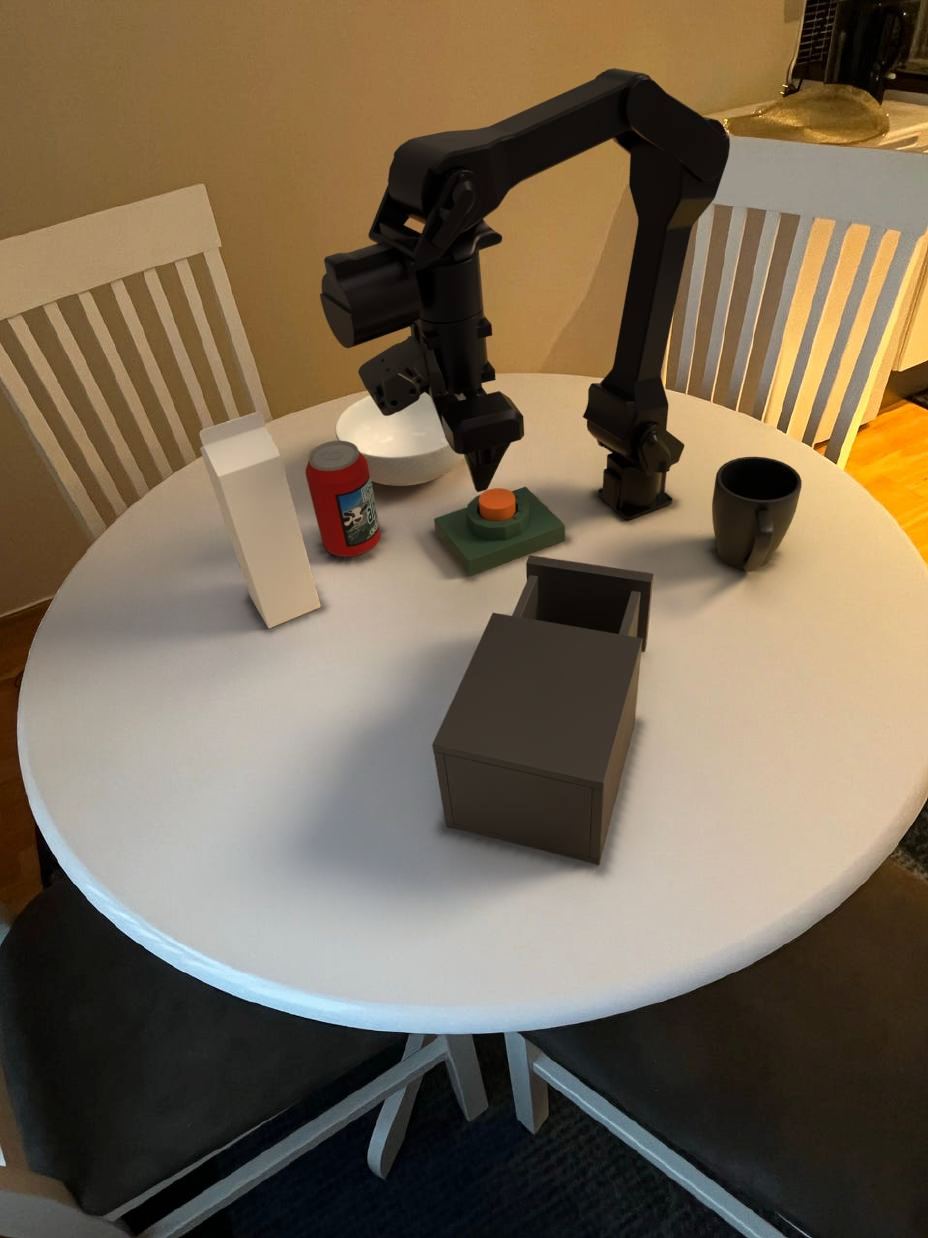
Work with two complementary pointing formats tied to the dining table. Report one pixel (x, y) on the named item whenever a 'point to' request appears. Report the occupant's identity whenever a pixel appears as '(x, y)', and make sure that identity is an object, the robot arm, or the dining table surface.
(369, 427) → the cereal bowl
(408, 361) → the robot arm
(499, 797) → the brown storage cube
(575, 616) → the drawer
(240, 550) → the milk
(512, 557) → the control block
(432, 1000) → the dining table surface
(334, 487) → the beverage can
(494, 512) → the button
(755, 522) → the mug
